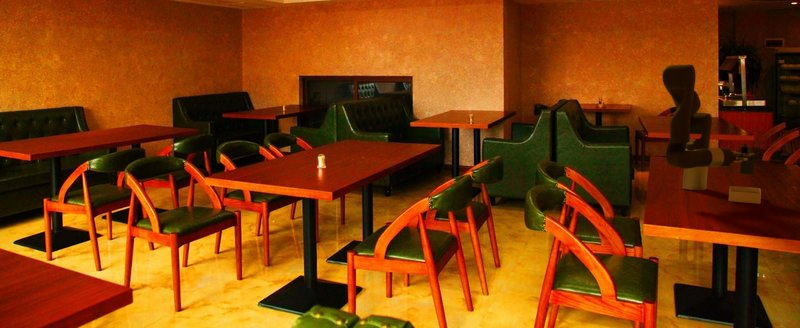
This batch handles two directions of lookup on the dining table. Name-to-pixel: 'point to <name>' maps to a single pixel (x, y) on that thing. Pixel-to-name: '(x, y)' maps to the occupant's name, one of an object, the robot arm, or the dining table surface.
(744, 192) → the riser
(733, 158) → the robot arm
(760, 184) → the dining table surface
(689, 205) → the dining table surface
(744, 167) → the vaping device
